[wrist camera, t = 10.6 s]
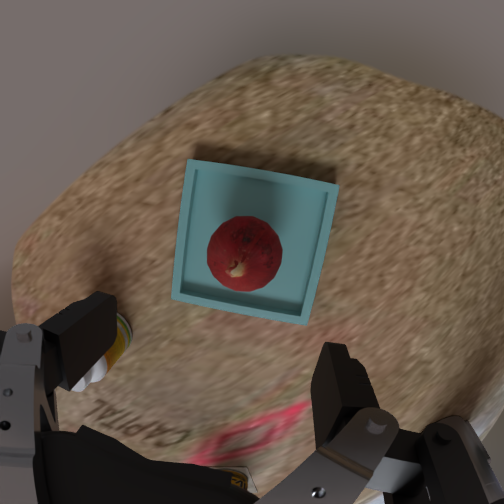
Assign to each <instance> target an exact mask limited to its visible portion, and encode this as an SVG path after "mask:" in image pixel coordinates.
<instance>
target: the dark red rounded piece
mask: <svg viewBox="0 0 504 504" xmlns="http://www.w3.org/2000/svg"><path fill="white" fill-rule="evenodd" d="M282 253H283V249H282V245H281V242H280V239H279V236H278V234H277V233H276V232H275V231H274V230H273V229H272V227H271V226H270V225H269V224H268V223H267V222H265V221H263V220H261V219H258V218H256V217H254V216H235V217H233V218H231V219H229V220H227V221H225V222H223V223H222V224H221V225H220V226H219V227H218V228H217V230H216V231H215V232H214V233H213V234H212V235H211V238H210V241H209V244H208V247H207V265H208V267H209V269H210V271H211V273H212V275H213V277H214V278H216V279H217V280H218V281H219V282H220V283H221V284H222V285H223V286H225V287H227V288H229V289H232V290H234V291H242V292H251V291H254V290H257V289H260V288H263V287H265V286H266V285H267V284H268V283H269V282H270V281H271V280H272V279H274V278H275V276H276V274H277V272H278V269H279V267H280V265H281V262H282Z"/></svg>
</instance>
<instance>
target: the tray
mask: <svg viewBox="0 0 504 504" xmlns="http://www.w3.org/2000/svg"><path fill="white" fill-rule="evenodd" d="M338 190H339V185H336V184H332V183H327V182H322V181H318V180H313V179H308V178H303V177H298V176H293V175H288V174H282V173H277V172H271V171H266V170H260V169H254V168H248V167H242V166H235V165H229V164H222V163H215V162H208V161H200V160H192V159H188V160H187V166H186V172H185V179H184V186H183V193H182V200H181V208H180V216H179V224H178V232H177V241H176V250H175V260H174V271H173V282H172V295H171V299H173V300H178V301H182V302H187V303H191V304H196V305H200V306H205V307H210V308H214V309H219V310H224V311H229V312H234V313H239V314H244V315H249V316H255V317H260V318H266V319H271V320H277V321H282V322H288V323H294V324H300V325H307V323H308V320H309V316H310V312H311V308H312V305H313V301H314V297H315V293H316V289H317V285H318V281H319V277H320V273H321V269H322V265H323V261H324V256H325V252H326V248H327V243H328V239H329V234H330V230H331V225H332V220H333V215H334V211H335V206H336V201H337V196H338ZM235 216H254V217H256V218H258V219H261V220H263V221H265V222H267V223H268V224H269V225H270V226H271V227H272V229H273V230H274V231H275V232H276V233H277V234H278V236H279V239H280V242H281V245H282V249H283V253H282V262H281V265H280V267H279V269H278V272H277V274H276V276H275V278H274V279H272V280H271V281H270V282H269V283H268V284H267V285H266V286H265V287H263V288H260V289H257V290H254V291H251V292H242V291H234V290H232V289H229V288H227V287H225V286H223V285H222V284H221V283H220V282H219V281H218V280H217V279H216V278H214V277H213V275H212V273H211V271H210V269H209V267H208V265H207V247H208V244H209V241H210V238H211V235H212V234H213V233H214V232H215V231H216V230H217V228H218V227H219V226H220V225H221V224H222V223H223V222H225V221H227V220H229V219H231V218H233V217H235Z"/></svg>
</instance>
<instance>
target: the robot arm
mask: <svg viewBox="0 0 504 504" xmlns="http://www.w3.org/2000/svg"><path fill="white" fill-rule="evenodd" d="M116 337H117V300H116V297H115V296H113V295H110V294H107V293H103V292H100V291H96V292H95V293H93V294H92V295H90V296H89V297H87V298H86V299H83V300H80V301H77V302H73V303H72V304H70V305H69V306H67V307H66V308H65V309H63V310H61V311H60V312H59V314H58V313H57V314H55V315H54V316H52V317H51V318H49V319H48V320H47V321H45V322H44V323H42V324H41V325H39V326H36V325H33V324H27V323H24V324H18V325H15V326H13V327H11V328H10V329H9V330H8V331H7V332H4V331H0V504H353V503H354V502H355V500H356V499H357V498H358V496H359V495H360V493H361V492H362V491H363V489H364V488H369V489H373V490H378V491H383V495H384V502H385V504H504V491H503V489H502V487H501V485H500V483H499V482H498V480H497V478H496V476H495V474H494V472H493V470H492V468H491V467H490V465H489V464H490V463H491V458H490V456H489V455H488V453H487V451H486V449H485V448H484V446H483V444H482V443H481V441H480V439H479V437H478V436H477V434H476V432H475V431H474V429H473V428H472V426H471V424H470V423H469V421H464V420H463V418H461V417H459V416H451V417H448V418H445V419H442V420H440V421H438V422H436V423H432V424H429V425H428V426H426V428H425V429H424V431H423V432H422V434H421V433H416V432H412V431H407V430H403V429H400V428H399V424H398V421H397V420H396V418H395V417H394V416H393V415H392V414H390V413H389V412H387V411H385V410H383V409H380V407H379V404H378V401H377V398H376V396H375V393H374V390H373V388H372V386H371V382H370V380H369V378H368V375H367V372H366V369H365V367H364V366H363V365H362V364H361V363H360V362H359V361H358V360H357V359H353V358H350V356H349V353H348V350H347V347H346V345H345V344H339V343H332V342H325V343H324V345H323V347H322V350H321V353H320V356H319V359H318V362H317V365H316V368H315V371H314V374H313V377H312V381H311V400H312V410H313V420H314V431H315V443H316V450H315V451H314V452H313V453H312V454H311V455H310V456H309V457H308V458H307V459H306V460H305V461H304V462H303V463H302V464H301V465H300V466H298V467H297V468H296V469H295V470H294V471H293V472H292V473H291V474H289V475H288V476H287V477H286V478H285V479H284V480H283V481H281V482H280V483H279V484H278V485H277V486H275V487H274V488H273V489H272V490H271V491H269V492H268V493H267V494H266V495H264V496H263V497H262V498H258V497H257V496H256V495H254V494H252V493H251V492H249V491H247V490H245V489H243V488H241V487H240V486H237V485H235V484H232V483H231V480H232V475H233V473H232V472H227V471H222V470H217V469H212V468H208V467H203V466H199V465H195V464H187V463H174V462H164V461H155V460H149V459H147V458H145V457H143V456H141V455H140V454H138V453H136V452H135V451H133V450H131V449H130V448H128V447H127V446H125V445H124V444H122V443H121V442H119V441H118V440H116V439H114V438H112V437H110V436H107V435H105V434H102V433H100V432H98V431H96V430H93V429H91V428H89V427H87V426H85V425H82V426H81V427H80V428H79V430H78V431H77V432H76V433H74V432H67V431H59V423H58V413H57V400H56V392H55V388H56V387H57V386H59V387H61V388H63V389H65V390H68V391H70V390H71V389H72V388H73V387H74V386H75V385H76V384H77V383H78V382H79V381H80V380H81V379H82V377H83V376H84V375H85V374H86V373H87V372H88V371H89V370H90V369H91V368H92V367H93V366H94V365H95V364H96V362H97V361H98V360H99V359H100V358H101V357H102V356H103V355H104V354H105V353H106V352H107V351H108V350H109V349H110V348H111V347H112V346H113V344H114V342H115V340H116ZM428 494H429V495H428ZM429 497H430V499H429Z"/></svg>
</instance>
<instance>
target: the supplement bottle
mask: <svg viewBox="0 0 504 504" xmlns="http://www.w3.org/2000/svg"><path fill="white" fill-rule="evenodd" d="M131 341H132V332H131V329H130V326H129V324H128V323H127V321H126V320H125V319H124V318H123V317H122V316H121V315H120V314H118V313H117V337H116V340H115V342H114V344H113V346H112V347H111V348H110V349H109V350H108V351H107V352H106V353H105V354H104V355H103V356H102V357H101V358H100V359H99V360H98V361H97V362H96V364H95V365H94V366H93V367H92V368H91V369H90V370H89V371H88V372H87V373H86V374H85V375H84V376H83V377H82V379H81V380H80V381H79V382H78V383H77V384H76V385H75V386H74V387H73V388H72V389H71V390H73V391H77V392H79V391H83V390H84V389H85V388H86V387H87V386H88V385H89V383H90V382H97V381H99V380H101V379H102V378H103V377H104V376H105V375H106V374H107V372H108V371H109V370H110V369H111V367H112V366H113V365H114V364H115V363H116V361H117V360H118V359H119V358H120V356H121V355H122V354H123V353H124V352H125V351H126V349H127V348H128V347H129V345H130V344H131Z"/></svg>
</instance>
